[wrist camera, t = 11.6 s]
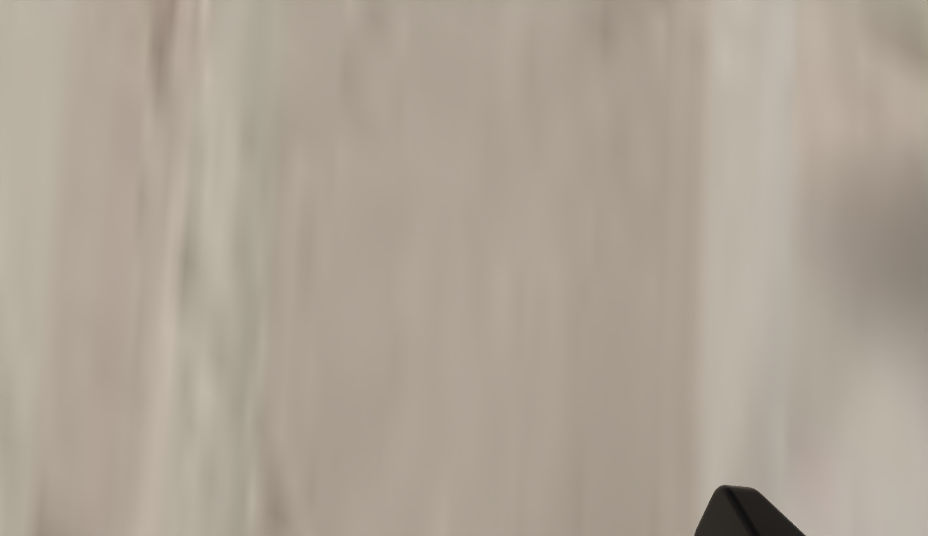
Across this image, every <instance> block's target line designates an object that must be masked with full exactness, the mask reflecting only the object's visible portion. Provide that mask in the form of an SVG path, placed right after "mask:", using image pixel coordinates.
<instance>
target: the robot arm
mask: <svg viewBox="0 0 928 536" xmlns="http://www.w3.org/2000/svg"><path fill="white" fill-rule="evenodd" d="M694 536H805V535H804V534H803V533H802V532H801V531H800V530H799V529H798V528H797V527H796V526H795V525H794V524H793V523H792V522H791V521H789V520H788V519H787V518H786V517H785V516H784V515H783V514H782V513H781V512H780V511H779V510H778V509H777V508H776V507H775V506H774V505H772V504H771V503H770V502H769V501H768V500H767V499H766V498H765V497H764V496H763V495H762V494H761V493H759V492H758V491H757V490H755V489H753V488H750V487H741V486H730V485H723V486H720V487H718V488H717V489H716V490H715V492H714V493H713V495H712V497H711V499H710V501H709V504H708V506H707V508H706V510H705V512H704V514H703V516H702V518H701V520H700V523H699V525H698V527H697V529H696V532H695V535H694Z"/></svg>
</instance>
